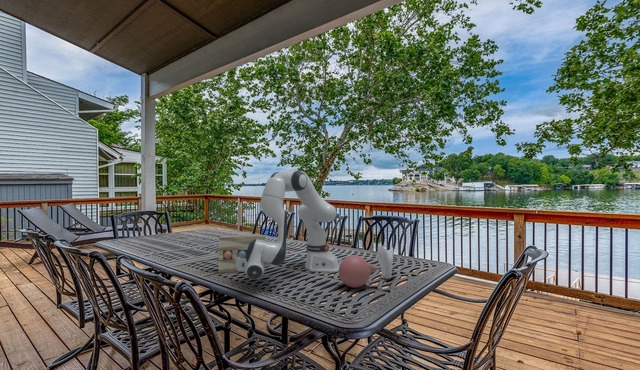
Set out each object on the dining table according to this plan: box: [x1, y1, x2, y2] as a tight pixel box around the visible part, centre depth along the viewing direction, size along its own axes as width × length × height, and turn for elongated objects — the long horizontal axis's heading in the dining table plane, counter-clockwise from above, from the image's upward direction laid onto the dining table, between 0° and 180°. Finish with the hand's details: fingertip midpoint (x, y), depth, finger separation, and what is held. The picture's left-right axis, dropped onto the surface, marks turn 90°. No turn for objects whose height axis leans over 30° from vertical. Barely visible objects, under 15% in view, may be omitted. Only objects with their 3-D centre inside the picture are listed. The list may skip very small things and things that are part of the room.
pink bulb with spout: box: [338, 254, 380, 289], centre depth 150 cm, size 15×20×15 cm
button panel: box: [218, 234, 266, 274], centre depth 181 cm, size 13×26×20 cm, turn 101°
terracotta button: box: [224, 250, 232, 259], centre depth 174 cm, size 4×4×4 cm
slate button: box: [238, 250, 246, 257], centre depth 174 cm, size 4×4×4 cm
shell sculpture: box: [377, 244, 394, 280], centre depth 165 cm, size 8×8×18 cm
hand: (255, 257), depth 166 cm, fingers closed
